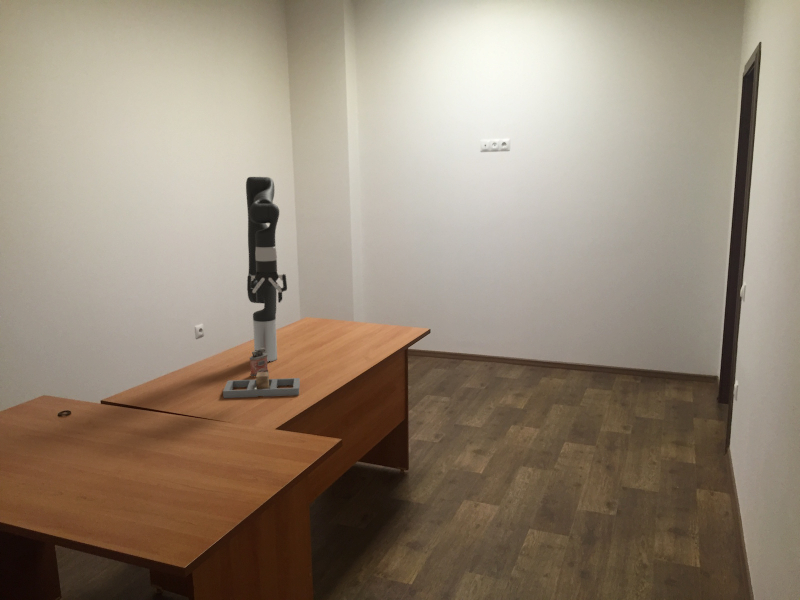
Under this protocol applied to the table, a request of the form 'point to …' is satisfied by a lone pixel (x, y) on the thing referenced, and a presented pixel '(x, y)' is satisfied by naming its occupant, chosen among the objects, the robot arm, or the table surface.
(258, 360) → the lighter
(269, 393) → the grey compartment tray
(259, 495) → the table surface
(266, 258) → the robot arm
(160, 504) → the table surface
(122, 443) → the table surface
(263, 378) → the wooden block
